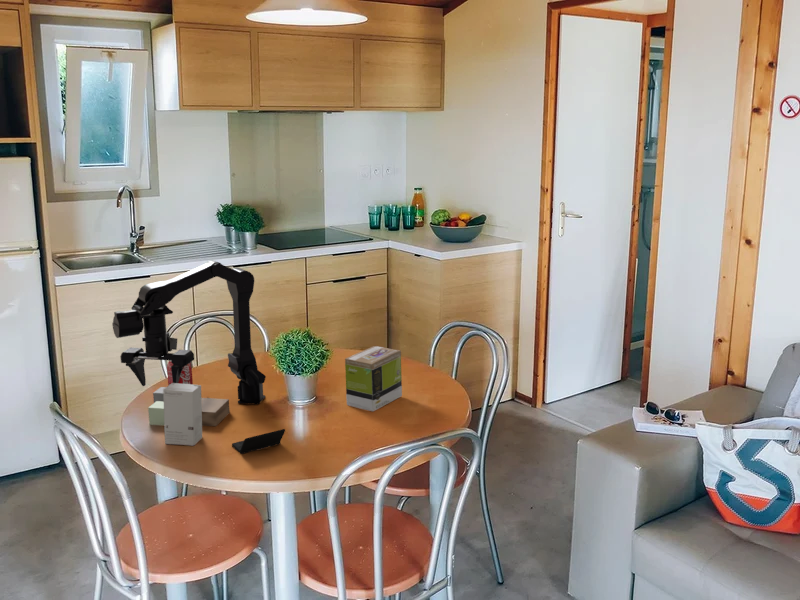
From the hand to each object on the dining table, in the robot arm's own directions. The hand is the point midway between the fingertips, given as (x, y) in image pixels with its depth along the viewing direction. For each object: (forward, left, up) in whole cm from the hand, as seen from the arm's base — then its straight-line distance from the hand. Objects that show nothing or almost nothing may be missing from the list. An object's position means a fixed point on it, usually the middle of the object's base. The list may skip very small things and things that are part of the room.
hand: (159, 386), depth 209 cm
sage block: (0, 0, -10) cm, 10 cm away
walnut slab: (-11, -4, -10) cm, 15 cm away
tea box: (-55, -24, -10) cm, 61 cm away
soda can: (+3, -19, -10) cm, 22 cm away
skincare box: (-12, +11, -10) cm, 19 cm away
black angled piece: (-32, +12, -11) cm, 36 cm away
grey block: (+4, -11, -10) cm, 16 cm away
